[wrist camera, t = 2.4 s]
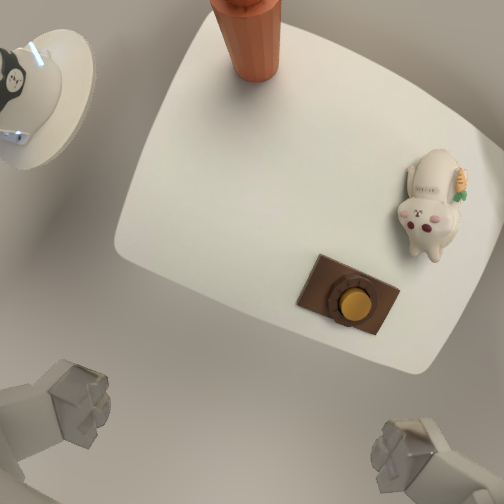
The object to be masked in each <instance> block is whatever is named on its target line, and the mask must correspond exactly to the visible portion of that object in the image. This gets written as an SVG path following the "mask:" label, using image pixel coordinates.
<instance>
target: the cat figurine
mask: <svg viewBox="0 0 504 504" xmlns="http://www.w3.org/2000/svg"><path fill="white" fill-rule="evenodd" d="M467 178H468V174H467V171H466V170H465V169H462V168H460V167H459V164H458V162H457V161H456V159H455V158H454V156H453V155H452V154H451V153H449V152H448V151H446V150H443V149H436V150H433V151H431V152H429V153H428V154H427V155H425V156H424V158H423V159H422V160H421V162H420V163H419V165H418V168H417V167H414V166H413V165H410V166H409V168H408V178H407V190H408V195H409V197H410V198H409V199H408V200H406V201H404V202H402V203H401V204H400V205H399V207H398V217H399V221H400V223H401V224H402V226H403V227H404V228H405V230H406V232H407V234H408V236H409V239H410V246H409V253H410V255H411V256H413V257H415V256H417V255H419V254H420V253H421V252H423V251H425V252H426V253H427V255H428V257H429V259H430V260H431V261H432V262H434V263H436V262H438V261H439V260H440V257H441V254H442V251H443V248H445V247H446V246H447V245H448V244H449V243H450V242H451V241H452V240H453V238H454V237H455V235H456V233H457V230H458V228H459V224H460V220H461V214H460V211H459V206H460V203H461V199H462V200H463V201H465V200H466V196H467V194H466V191H464V190H465V189H466V183H467Z"/></svg>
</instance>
